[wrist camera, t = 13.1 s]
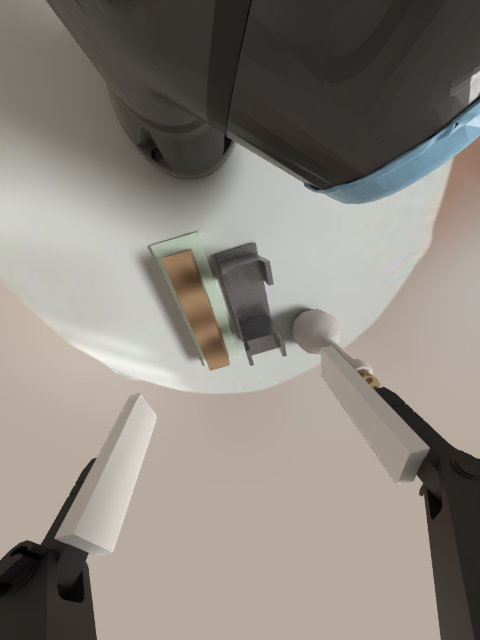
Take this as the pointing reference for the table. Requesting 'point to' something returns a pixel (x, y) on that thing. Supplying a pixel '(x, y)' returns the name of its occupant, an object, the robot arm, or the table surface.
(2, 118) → the table surface
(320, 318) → the potion bottle
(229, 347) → the mat
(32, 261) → the table surface
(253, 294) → the rack
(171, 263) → the rail
